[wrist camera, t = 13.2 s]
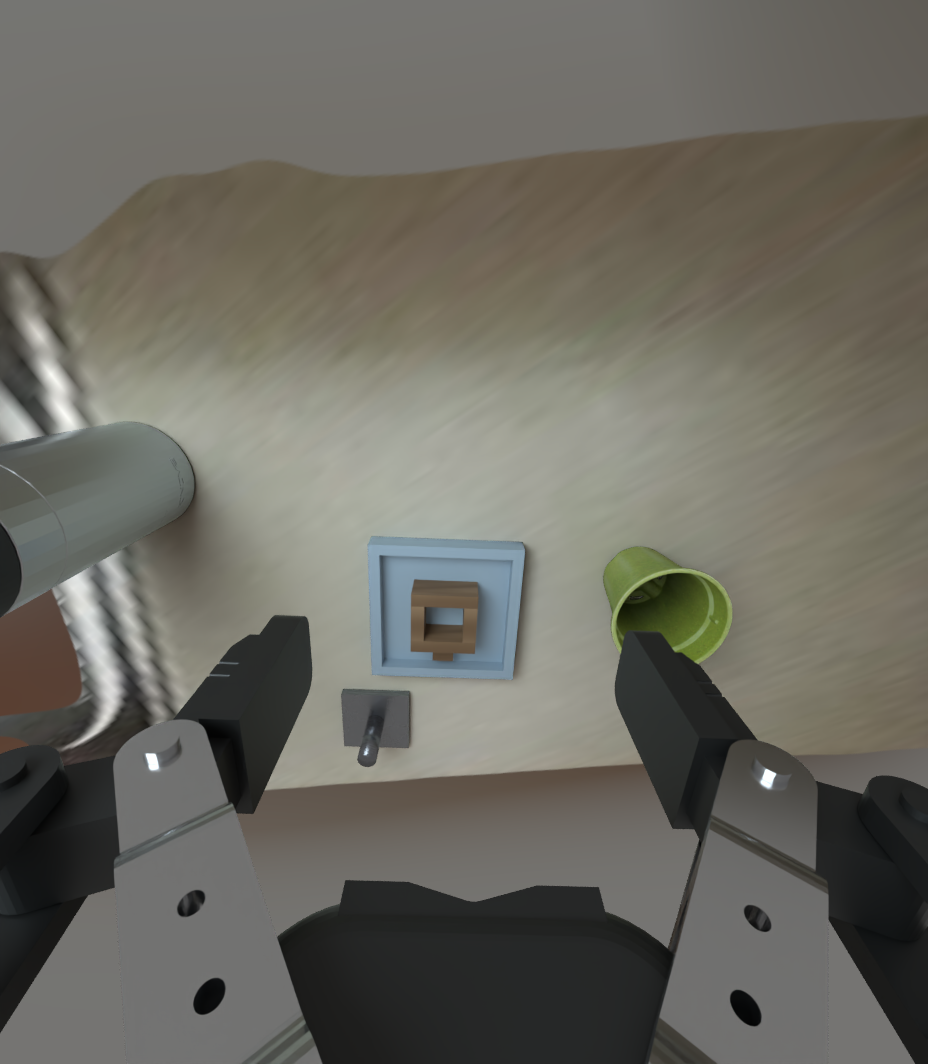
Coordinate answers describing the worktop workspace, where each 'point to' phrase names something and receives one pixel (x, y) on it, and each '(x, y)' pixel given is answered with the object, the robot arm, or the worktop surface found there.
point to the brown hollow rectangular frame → (444, 636)
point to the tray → (447, 561)
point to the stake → (375, 721)
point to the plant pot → (667, 602)
